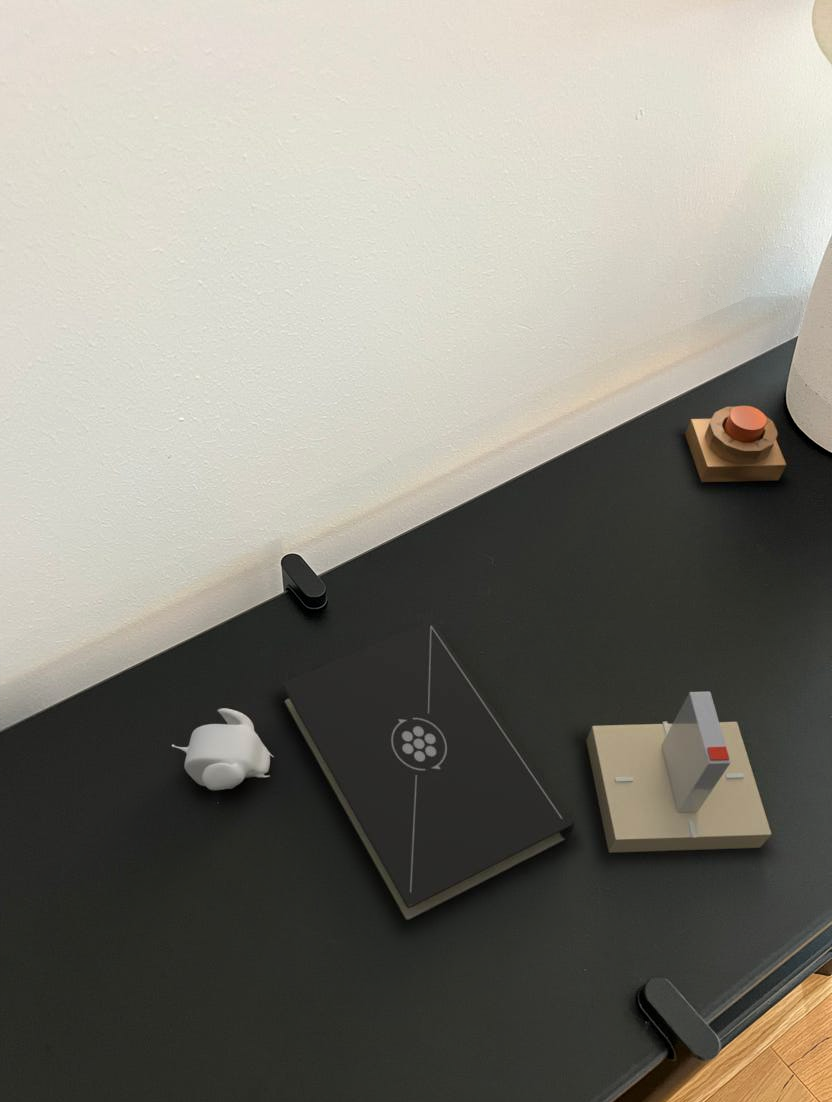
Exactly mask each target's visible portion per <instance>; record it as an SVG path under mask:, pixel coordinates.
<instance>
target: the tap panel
mask: <svg viewBox="0 0 832 1102" xmlns="http://www.w3.org/2000/svg"><path fill="white" fill-rule="evenodd" d="M672 724H673V723H668V721H662V723H646V724H617V725H616V724H613V725H592V726H591V729H590V731H589V734H588V735H587V738H586V741H585V742H586V747H587V753H588V756H589V762H590V767H591V772H592V776H593V777H592V778H593V782H594V786H595V787H594V788H595V790H596V791H595V792H596V796H597V802H598V806H599V811H600V817H601V821H602V826H603V831H604V836H605V842H606V846H607V852H608V853H612V854H613V853H637V852H638V853H639V852H667V851H670V852H671V851H672V852H673V851H696V850H697V851H699V850H728V849H730V850H731V849H758V848H759V849H760V848H762V847H763V845H764V844H765V843H767V841H768V840H769V838H770V837H771V836H772V831H771V828H770V824H769V821H768V818H767V815H766V812H765V808H764V805H763V801H762V797H761V796H760V792H759V788H758V786H757V782H756V778H755V776H754V773H753V769H752V766H751V763H750V759H749V756H748V753H747V750H746V745H745V743H744V740H743V737H742V733H741V730H740V727H739V723H738V721H719V724H720V727H721V731H722V734H723V738H724V741H725V745H726V748H727V752H728V755H729V759H730V762H731V763H730V765H729V766H728V768H727V769H726V771H725V772H724V774H723V775H722V777H721V778H720V780H719V781H718V782H717V784H716V785H715V787H714V788H713V790H712V791H711V793H710V794H709V796H708V797H707V799H706V800H705V802H704V803H703V805H702V806H701V808H700V809H699V811H698V812H678V811H677V807H676V803H675V799H674V795H673V791H672V787H671V782H670V778H669V774H668V770H667V766H666V762H665V758H664V754H663V749H662V743H663V741H664V739H665V737H666V735H667V734H668V732H669V730H670V728H671V726H672Z"/></svg>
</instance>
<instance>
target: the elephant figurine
mask: <svg viewBox="0 0 832 1102" xmlns="http://www.w3.org/2000/svg"><path fill="white" fill-rule="evenodd" d="M216 712H217V713H219V714H220V716H221V717H222V718H223V719H224V721H225V722H226V724H225V723H209V724H203V725H200V726H198V727H196V728H195V729H194V730H193V731H192V733H191V735H190V739H189V743H188V745H187V746H184V747H183V746H176V745H175V744H171V747H172V748H176V749H179V750H181V751H183V752H184V753H185V754H186V756H185V759H184V764H183V765H184V767H183V768H184V770H185V772H186V773H187V774H188V776H190V777H191V779H192V780H193V781H195V783H196V784H198V785H199V786H201V787H206V788H207V789H208V790H210V791H222V790H227V789H228V790H232V789H234V788H236V786H239V785H240V784H241V783H242V782H243V781H244V780H245V779H247V778H254V777H256V778H263V779H264V778H270V775H265V774H267V773H269V770H270V766H271V757H272V758H275V756H273V754H271V752H270V751H269V749H268V748H267V747H266V746H265V744H264V743H263V742H262V739H261V738H260V736H259V735H258V734H257V732H256V731H255V727H254V723H253V721H252V720H251V719H250V718H249V717H248V716H247V715H246V714H244V713H242V712H241V711H238V710H234V709H231V708H227V707H224V708H223V707H222V708H219V709H217V711H216Z"/></svg>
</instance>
